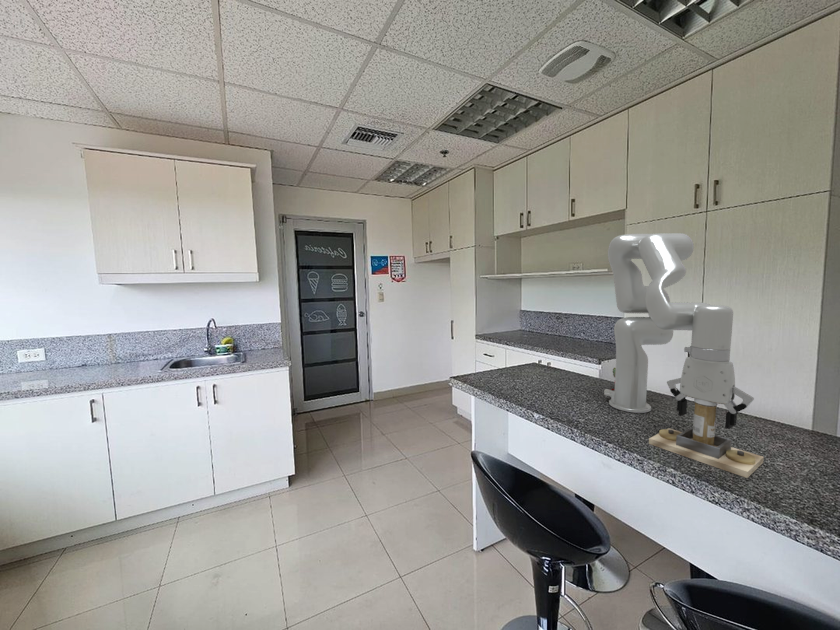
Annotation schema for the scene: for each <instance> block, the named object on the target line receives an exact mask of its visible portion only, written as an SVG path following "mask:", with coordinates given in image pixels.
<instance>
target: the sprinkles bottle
mask: <svg viewBox="0 0 840 630" xmlns="http://www.w3.org/2000/svg"><path fill="white" fill-rule="evenodd" d="M693 399H694V400H693V401H694V411H693V421H692V428H693V440H695V441H698V442H701V443H705V444H708V445H711V446H714V436H715V435H716V416H717V408H718V407H717V406H718V405H719V404H717V403H713V402H708V401H704V400H700V399H695V398H693Z"/></svg>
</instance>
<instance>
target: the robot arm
mask: <svg viewBox="0 0 840 630" xmlns="http://www.w3.org/2000/svg"><path fill="white" fill-rule="evenodd" d="M694 250H695V246H694V241H693V240H692V238H691V237H690V236H689V235H688V234H686V233H682V232H681V233H679V232H678V233H677V232H674V233H673V232H671V233H670V232H669V233H668V232H667V233H666V232H665V233H664V232H662V233H626V234H619V235H617V236H615V237H613V238H612V240H611V241H610V242H609V246H608V248H607V258H608V263H609V264H608V265H609V266H610V269H611V272H612V276H613V281H614V291H615V292H614V293H615V302H616V307H617V310H618V311H619V312H621V313H623V314H647V315H648V316H626V317H622V318H620V319H617V321H616V322H615V324H614V328H613V329H614V330H613V332H614V333H613V334H614V339H615V368H616V372H615V377H614V382H615V383H614V389H615V390H612V389H608V388H605V389H604V391H603V393H604V394H603V395H604V396H606V397H610V399H609V400H608V404H609V406H610V407H612V408H614V409H616V410H619V411H622V412H628V413H636V414H643V413H644V414H645V413H649V412H651V410H652V406H651V405H650V404H649V403H647V393H648V392H647V389H648V374H649V371H648V370H649V356H648V354H647V352H646V351H645V349H644V348H643V347H642V346H645V345H647V346H648V345H651V346H652V345H653V346H657V345H658V346H659V345H660V346H661V345H666V344H668V343H670V342H671V341H672V339H673V336H674V331H691V344H690V345H689V346H685V347H684V349H683V351H684V353H688V354H689V356H687V357H686V358H685V361H684V363H683V368H682V371H681V377H680V378H674V379H670V380H667V381H666V385H667V386H668V388H669V390H670V392H671V394H672V395H673V396H674V397H675V400H676V401H677V402H676V403H677V404H676V411H677V412H678V416H679V417H683V416H685V415H687V412H688V410H687V409H688V399H686V398H692V399H694V398H695V399H700V400H704V401H708V402H713V403H717V404H718V405H723V406H724V407H725V408H726V410H727V412H726V413H725V424H724V428H725V429H727V430H730V429H733V427H735V426H736V425H737V419H738V417H737V416H738V413H739V412H741V411H743V410H745V409H746V408H748V407H749V406H750V405H751V403H752V402H754V401H755V398H754V397H753V396H751V395H749V394H748V393H746V392H744V391H743V390H742V389H740V388H738V387H736V375H735V374H736V373H735V368H734V363H733V362H732V361H730V357H731V348H732V334H733V323H734V322H733V321H734V310H733V308H732V307H730V306H727V305H721V304H710V303H707V302H688V301H687V302H685V301H684V302H681V301H680V302H676V301H675V302H671V300H670V296H669V294H668V292H667V291H666V290H665V289H666V288H668V287H670V286H673V285H675V284H677V283H679V282H680V281H682V279H684V277H685V276H686V273H687V269H686V266H685V265H684V264H683V262H682V261H685V260H687V259H689V258H690V257H691V256H692V255H693V253H694ZM635 259H636V260H642V263H643V264H644V266H645V268H646V271H647V273H648V275H649V278H650V280H651V282H650V283H649V285H647V286H646V285H644V282H643V273H642V272H641V270H640V269H639V267H638V266H637V264H636V263H635V262H633V261H632V260H635ZM678 384H680V385H679V389H678V388H677V386H676V385H678ZM736 396H737V397H739V398H741V399H742V401H741V403H740V404H736V402H735V401H734V400H735V397H736Z"/></svg>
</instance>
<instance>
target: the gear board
mask: <svg viewBox="0 0 840 630" xmlns="http://www.w3.org/2000/svg"><path fill="white" fill-rule="evenodd" d="M658 431H659V432H658V433H657V434H655V435H653V436H651V437H649V438H648V444H649V445H651V446H654V447H656V448H660V449H663V450H665V451H668V452H671V453H674V454H677V455H680V456H683V457H684V458H687V459H688V458H689V459H690V460H694V461H697V462H700V463H703V464H705V465H708V466H711V467H713V468H717V469H720V470H723V471H726V472H727V473H731V474H734V475H737V476H739V477H742V478H746V479H749V477H750V476H751V475H753V473H754V472H755V471H757V469H759V468H760V467H761V465H762V464H764V458H765V457H764V456H762V455H759V454H755V453H753V452H749V451H747V450H742V449H739V448H736V447H733V446H732V442H733V441H732V439H731V438H727V437H723V436H720V435H717V434H715V436H714V446H711V445H708V444H705V443H701V442H698V441H695V440H693V427H689V428H688V429H686V430H684V431H679V430H675V429H673V428H670V427H669V428H666V429H665V428H664V429H660V430H658Z"/></svg>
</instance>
